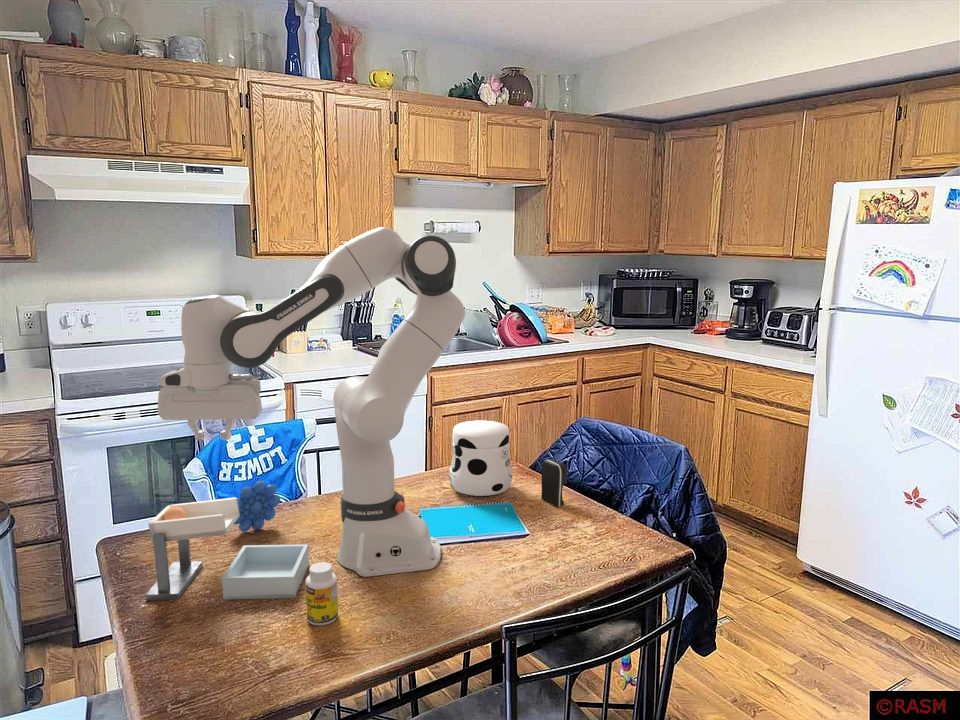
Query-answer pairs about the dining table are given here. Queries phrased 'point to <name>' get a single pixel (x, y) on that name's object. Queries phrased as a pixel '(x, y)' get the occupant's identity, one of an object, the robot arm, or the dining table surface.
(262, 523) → the grapes
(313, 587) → the supplement bottle
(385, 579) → the dining table surface
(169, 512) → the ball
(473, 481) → the spotted cookie jar
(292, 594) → the pale blue tray
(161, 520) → the tipping trough
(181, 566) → the trough stand
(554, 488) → the battery charger
